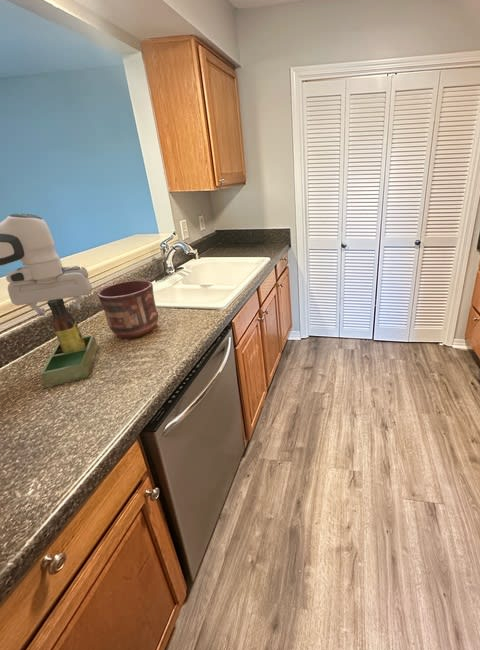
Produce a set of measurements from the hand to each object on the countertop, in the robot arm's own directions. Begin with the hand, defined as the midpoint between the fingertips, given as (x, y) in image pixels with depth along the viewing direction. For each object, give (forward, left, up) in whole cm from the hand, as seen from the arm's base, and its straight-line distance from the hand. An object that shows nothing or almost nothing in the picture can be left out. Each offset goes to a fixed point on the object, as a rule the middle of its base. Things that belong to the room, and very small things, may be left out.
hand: (60, 312), depth 101 cm
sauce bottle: (0, 0, -16) cm, 16 cm away
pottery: (+18, +11, -17) cm, 27 cm away
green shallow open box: (0, -5, -17) cm, 18 cm away
